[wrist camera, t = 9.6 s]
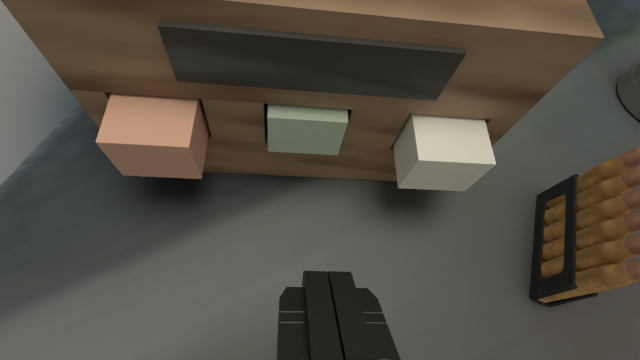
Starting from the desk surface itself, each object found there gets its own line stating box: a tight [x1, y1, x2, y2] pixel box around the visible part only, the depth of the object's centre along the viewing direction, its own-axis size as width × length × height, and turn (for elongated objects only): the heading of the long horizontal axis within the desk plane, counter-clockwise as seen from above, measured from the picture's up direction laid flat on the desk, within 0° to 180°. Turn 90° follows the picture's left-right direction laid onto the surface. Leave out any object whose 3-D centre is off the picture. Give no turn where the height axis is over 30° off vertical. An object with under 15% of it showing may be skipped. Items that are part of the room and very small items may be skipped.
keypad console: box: [1, 0, 604, 181], centre depth 27 cm, size 7×30×18 cm, turn 90°
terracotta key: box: [96, 93, 210, 179], centre depth 25 cm, size 6×5×4 cm
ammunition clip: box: [529, 146, 640, 307], centre depth 28 cm, size 11×2×12 cm, turn 160°
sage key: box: [267, 104, 348, 155], centre depth 27 cm, size 6×5×4 cm
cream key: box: [393, 114, 496, 191], centre depth 27 cm, size 6×5×4 cm
